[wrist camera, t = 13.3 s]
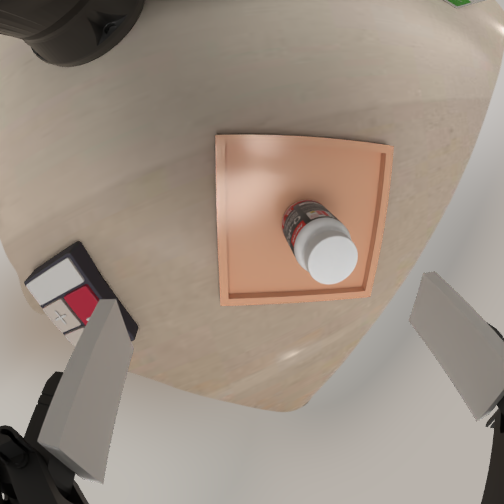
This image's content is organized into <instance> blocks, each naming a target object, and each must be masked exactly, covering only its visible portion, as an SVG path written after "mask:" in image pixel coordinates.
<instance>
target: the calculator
mask: <svg viewBox="0 0 504 504" xmlns="http://www.w3.org/2000/svg"><path fill="white" fill-rule="evenodd" d="M24 283H25V285H26V287H27V288H28V290H29V291H30V292H31V294H32V295H33V296H34V298H35V299H36V300H37V302H38V303H39V304H40V306H41V307H42V308H43V311H44V312H45V313H46V315H47V316H48V317H49V318H50V319H51V321H52V322H53V323H54V324H55V326H57V328H58V329H59V330H60V331H61V332H62V333H63V334H64V335H65V337H66V338H67V339H68V340H69V342H70V343H71V344H72V345H73V346H74V347H76V345H77V342H78V340H79V338H80V336H81V334H82V332H83V330H84V328H85V326H86V324H87V323H88V321H89V319H90V317H91V315H92V313H93V311H94V309H95V307H96V305H97V304H98V302H99V300H100V299H116V300H117V303H118V306H119V309H120V312H121V315H122V318H123V321H124V324H125V326H126V329H127V332H128V335H129V337H130V340H131V341H133V340H135V337H136V333H137V330H138V325H137V324H136V323H135V321H134V320H133V319H132V317H131V316H130V315H129V313H128V312H127V311H126V309H125V308H124V307H123V305H122V304H121V302H120V301H119V300H118V298H117V297H116V296H115V294H114V293H113V292H112V290H111V289H110V288H109V286H108V285H107V283H106V282H105V281H104V279H103V278H102V276H101V275H100V274H99V272H98V271H97V268H96V266H95V264H94V262H93V261H92V259H91V258H90V256H89V254H88V253H87V251H86V250H85V248H84V246H83V245H82V243H81V242H80V241H77V242H76V243H74V244H73V245H71V246H69V247H68V248H66V249H65V250H63V251H62V252H60V253H59V254H57V255H56V256H54V257H53V258H51V259H50V260H48V261H47V262H45V263H44V264H42V265H41V266H40V267H38V268H37V269H35V270H34V271H33V273H32V274H31V275H30V276H29V277H28V278H27V279H26V281H25V282H24Z"/></svg>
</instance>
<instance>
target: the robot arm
mask: <svg viewBox="0 0 504 504" xmlns="http://www.w3.org/2000/svg"><path fill="white" fill-rule="evenodd" d="M143 5H144V0H0V34H3V35H8V36H12V37H16V38H19V39H23V40H24V41H25V42H26V43H27V44H28V45H29V46H31V48H32V50H33V52H34V53H35V54H36V56H37V57H39V58H40V59H41V60H43V61H45V62H47V63H50V64H54V65H57V66H62V67H71V66H77V65H81V64H85V63H87V62H90V61H92V60H94V59H96V58H98V57H100V56H101V55H103V54H104V53H106V52H107V51H109V50H110V49H111V48H113V47H114V46H115V45H116V44H117V43H118V42H119V41H121V40H122V38H123V37H124V36H125V35H126V34H127V33H128V32H129V31H130V29H131V28H132V27H133V25H134V24H135V22H136V20H137V19H138V17H139V15H140V13H141V10H142V8H143ZM409 322H410V323H411V325H412V326H413V327H414V329H415V330H416V331H417V333H418V334H419V335H420V337H421V338H422V339H423V341H424V342H425V344H426V345H427V346H428V348H429V349H430V351H431V352H432V353H433V355H434V356H435V358H436V359H437V361H438V362H439V364H440V365H441V366H442V368H443V369H444V371H445V372H446V374H447V375H448V377H449V378H450V380H451V381H452V383H453V384H454V386H455V387H456V389H457V390H458V392H459V394H460V395H461V397H462V398H463V400H464V401H465V403H466V405H467V406H468V408H469V410H470V411H471V413H472V414H473V416H474V418H475V419H476V421H479V420H480V419H482V418H484V417H485V416H487V415H489V413H490V412H491V411H492V410H493V409H494V408H495V406H496V405H497V406H498V408H499V409H498V410H497V411H496V412H495V413H494V415H493V416H492V417H491V418H490V419H489V420H488V422H487V424H486V427H488V426H489V425H490V424H491V423H492V422H493V421H494V420H495V422H494V423H493V424H492V425H491V428H494V436H493V445H492V453H491V459H490V466H489V471H488V476H487V481H486V485H485V490H484V494H483V499H482V502H481V504H504V338H503V336H502V335H501V334H500V333H499V331H498V330H497V329H496V328H494V327H493V326H491V325H490V324H488V323H487V322H486V321H485V320H483V318H482V317H481V316H480V315H479V314H478V313H477V312H476V311H475V310H474V309H473V308H472V307H471V306H470V305H469V304H468V303H467V302H466V301H465V300H464V299H463V298H462V297H461V296H460V295H459V294H458V293H457V292H456V291H455V290H454V289H453V288H452V287H451V286H450V285H449V284H448V283H447V282H446V281H445V280H444V279H442V278H441V277H440V276H439V275H438V274H437V273H436V272H428V273H423V276H422V280H421V283H420V287H419V290H418V293H417V297H416V300H415V303H414V306H413V309H412V312H411V315H410V318H409ZM133 350H134V348H133V345H132V342H131V340H130V337H129V335H128V332H127V329H126V326H125V324H124V321H123V318H122V315H121V312H120V309H119V306H118V303H117V300H116V299H100V300H99V302H98V304H97V305H96V307H95V309H94V311H93V313H92V315H91V317H90V319H89V321H88V323H87V324H86V326H85V328H84V330H83V332H82V334H81V336H80V338H79V340H78V342H77V345H76V347H75V349H74V351H73V353H72V355H71V357H70V359H69V362H68V364H67V366H66V368H65V370H64V373H63V372H55V373H54V374H53V375H52V376H51V377H50V378H49V379H48V380H47V382H46V384H45V387H44V389H43V391H42V395H41V396H40V398H39V400H38V405H36V407H35V410H34V412H33V415H32V418H31V420H30V423H29V426H28V428H27V431H26V433H25V436H24V438H23V437H22V436H21V435H19V433H18V432H17V431H16V430H14V429H13V428H12V427H10V426H6V425H5V426H0V504H89V503H88V502H87V500H86V498H85V497H84V495H83V493H82V491H81V490H80V488H79V486H78V484H77V483H76V482H75V481H74V476H75V474H77V475H78V476H80V477H81V478H82V479H84V480H88V481H92V482H96V483H100V484H103V482H104V476H105V470H106V464H107V458H108V453H109V448H110V443H111V438H112V434H113V429H114V424H115V419H116V415H117V411H118V407H119V403H120V398H121V394H122V390H123V387H124V383H125V379H126V375H127V372H128V368H129V364H130V361H131V357H132V354H133ZM2 493H4V495H5V498H4V500H3V498H2Z"/></svg>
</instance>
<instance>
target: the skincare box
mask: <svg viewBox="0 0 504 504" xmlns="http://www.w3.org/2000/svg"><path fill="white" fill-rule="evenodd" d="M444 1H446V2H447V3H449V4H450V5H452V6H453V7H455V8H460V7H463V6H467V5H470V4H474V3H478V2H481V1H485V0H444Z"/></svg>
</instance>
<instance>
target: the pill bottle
mask: <svg viewBox="0 0 504 504" xmlns="http://www.w3.org/2000/svg"><path fill="white" fill-rule="evenodd" d="M282 231H283V234H284V236H285V238H286V240H287V242H288V244H289V246H290V248H291V250H292V252H293V254H294V256H295V258H296V260H297V261H298V263H299V264H300V266H301V267H302V268H304V269H305V270H306V271H308V272H309V273H310V275H311V276H312V278H313V279H315V280H316V281H317V282H319V283H322V284H335V283H338V282H341V281H343V280H344V279H346V278H347V277H348V276H349V275H350V274H351V273H352V271H353V270H354V268H355V266H356V264H357V260H358V252H357V248H356V246H355V244H354V243H353V242H352V240H351V237H350V234H349V231H348V230H347V228H346V227H345V226H344V225H343V223H341V222H340V221H339V220H338V219H337V218H336V217H335V216H334V215H333V214H332V213H331V212H330V211H328V210H327V209H326V208H325V207H324V206H323V205H322V204H320V203H318V202H316V201H313V200H301V201H298V202H296V203H294V204H293V205H291V206H290V207H289V208H288V209H287V211H286V212H285V214H284V216H283V219H282Z"/></svg>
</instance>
